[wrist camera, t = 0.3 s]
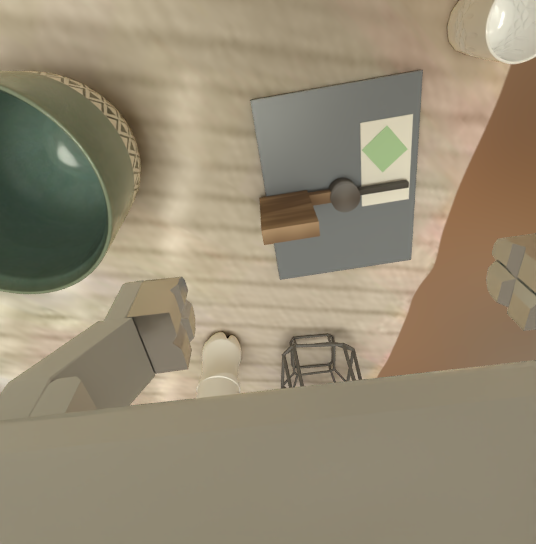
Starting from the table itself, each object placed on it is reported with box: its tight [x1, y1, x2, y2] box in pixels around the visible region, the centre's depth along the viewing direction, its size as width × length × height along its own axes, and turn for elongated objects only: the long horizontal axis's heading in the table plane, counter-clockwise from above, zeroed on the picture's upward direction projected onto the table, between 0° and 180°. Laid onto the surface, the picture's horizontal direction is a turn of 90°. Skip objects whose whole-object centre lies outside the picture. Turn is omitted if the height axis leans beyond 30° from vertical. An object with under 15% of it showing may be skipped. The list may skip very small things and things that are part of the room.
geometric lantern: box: [281, 334, 362, 389], centre depth 58 cm, size 16×16×35 cm
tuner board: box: [250, 70, 423, 280], centre depth 55 cm, size 28×22×1 cm
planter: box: [0, 71, 141, 294], centre depth 41 cm, size 20×20×21 cm
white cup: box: [447, 0, 536, 64], centre depth 40 cm, size 8×8×10 cm
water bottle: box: [196, 332, 241, 398], centre depth 60 cm, size 7×7×25 cm
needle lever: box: [260, 178, 409, 245], centre depth 50 cm, size 4×21×11 cm, turn 99°
